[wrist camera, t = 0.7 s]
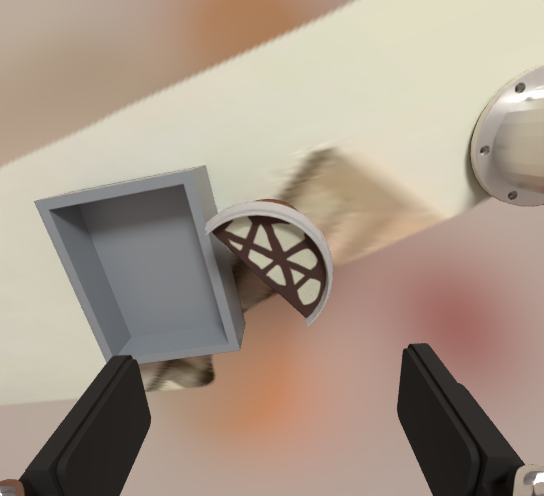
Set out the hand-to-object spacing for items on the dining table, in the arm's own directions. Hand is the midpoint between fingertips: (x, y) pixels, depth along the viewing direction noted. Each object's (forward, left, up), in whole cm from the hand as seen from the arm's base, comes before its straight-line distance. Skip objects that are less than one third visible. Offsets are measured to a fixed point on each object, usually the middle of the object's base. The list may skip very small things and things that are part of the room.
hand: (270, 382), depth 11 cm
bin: (+14, +3, -23) cm, 27 cm away
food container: (-1, +1, -24) cm, 24 cm away
